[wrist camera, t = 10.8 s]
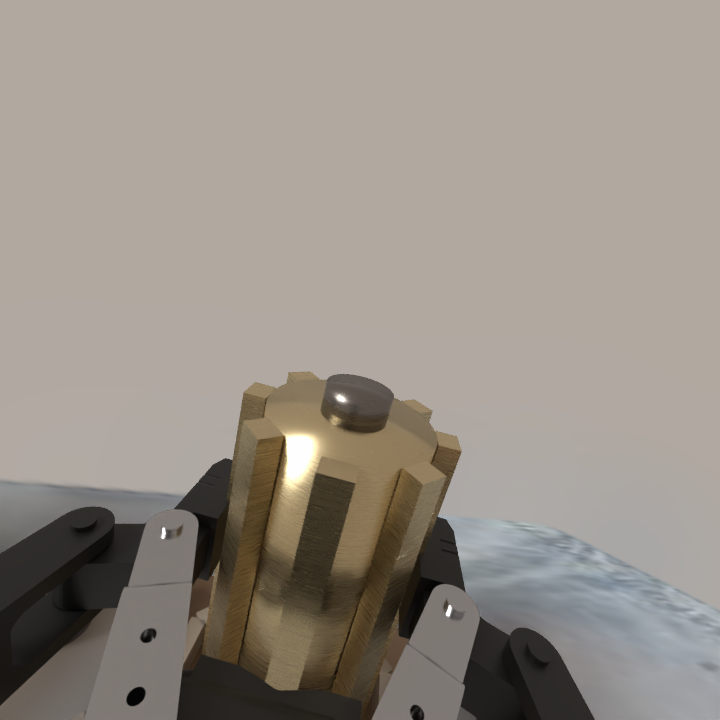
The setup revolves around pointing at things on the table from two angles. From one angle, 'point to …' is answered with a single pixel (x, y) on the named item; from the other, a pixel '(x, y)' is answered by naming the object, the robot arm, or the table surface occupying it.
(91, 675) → the gear board
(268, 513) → the pinion
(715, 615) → the table surface
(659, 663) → the table surface
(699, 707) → the table surface
